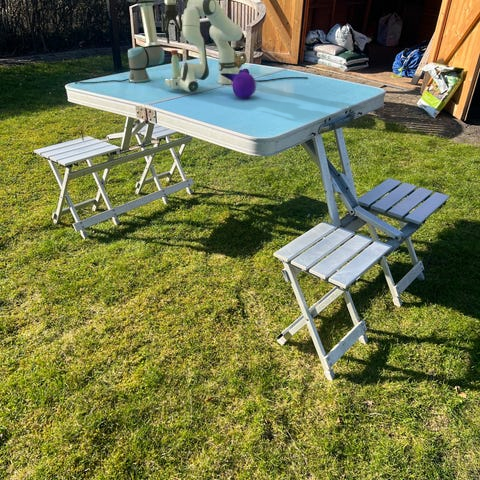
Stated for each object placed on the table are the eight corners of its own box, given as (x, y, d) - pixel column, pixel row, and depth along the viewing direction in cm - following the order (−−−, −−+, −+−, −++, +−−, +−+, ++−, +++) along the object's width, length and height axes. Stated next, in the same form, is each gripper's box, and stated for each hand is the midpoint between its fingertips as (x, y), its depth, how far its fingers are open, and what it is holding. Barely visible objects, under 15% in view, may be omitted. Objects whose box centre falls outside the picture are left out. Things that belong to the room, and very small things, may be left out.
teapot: (227, 72, 362) (226, 52, 355) (220, 70, 371) (219, 51, 363) (249, 69, 371) (249, 50, 364) (242, 67, 380) (242, 48, 372)
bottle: (181, 89, 312) (178, 51, 300) (174, 89, 312) (170, 51, 299) (181, 87, 316) (178, 50, 304) (174, 88, 316) (170, 50, 304)
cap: (178, 54, 301) (177, 50, 300) (171, 54, 300) (171, 51, 299) (177, 53, 305) (177, 49, 304) (171, 53, 304) (171, 50, 303)
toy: (241, 90, 304) (255, 103, 283) (217, 85, 296) (230, 99, 276) (247, 66, 296) (262, 78, 275) (223, 61, 288) (236, 73, 268)
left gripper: (182, 3, 294) (185, 41, 306) (153, 4, 287) (157, 43, 298) (186, 3, 288) (189, 42, 300) (157, 4, 281) (161, 44, 293)
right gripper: (197, 75, 304) (189, 72, 314) (169, 79, 295) (162, 76, 306) (198, 85, 307) (190, 82, 317) (170, 89, 298) (163, 85, 309)
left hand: (173, 42), depth 299 cm, fingers open, 7 cm apart
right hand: (176, 79), depth 311 cm, fingers closed on bottle, 5 cm apart
